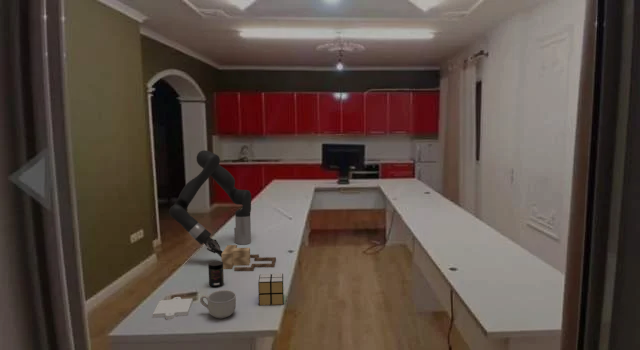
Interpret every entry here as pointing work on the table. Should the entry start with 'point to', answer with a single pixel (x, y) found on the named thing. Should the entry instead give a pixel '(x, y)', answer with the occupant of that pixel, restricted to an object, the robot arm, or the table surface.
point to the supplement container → (216, 274)
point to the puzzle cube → (271, 289)
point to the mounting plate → (173, 308)
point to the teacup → (220, 303)
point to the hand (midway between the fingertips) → (223, 256)
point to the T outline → (257, 258)
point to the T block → (235, 256)
